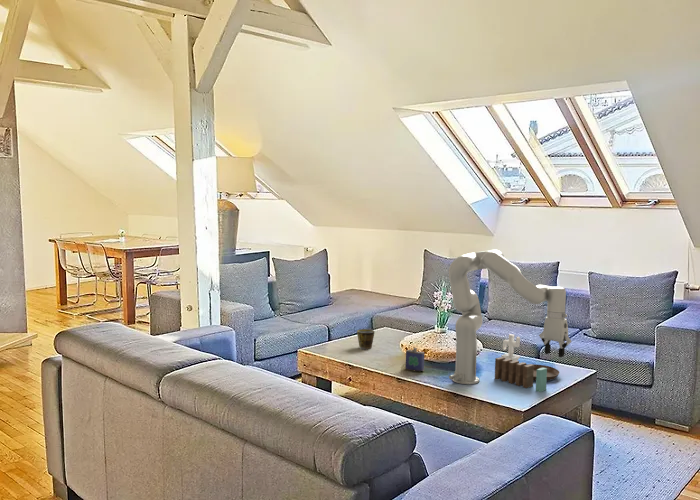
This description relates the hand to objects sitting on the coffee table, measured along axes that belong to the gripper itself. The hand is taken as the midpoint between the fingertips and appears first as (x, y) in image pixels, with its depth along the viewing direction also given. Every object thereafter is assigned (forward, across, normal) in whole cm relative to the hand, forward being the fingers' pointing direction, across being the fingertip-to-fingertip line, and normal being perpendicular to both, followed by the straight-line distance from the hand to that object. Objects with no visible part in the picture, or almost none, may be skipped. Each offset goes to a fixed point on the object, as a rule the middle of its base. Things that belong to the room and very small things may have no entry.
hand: (554, 354), depth 279 cm
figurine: (+18, +44, -28) cm, 55 cm away
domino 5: (+18, +13, 0) cm, 22 cm away
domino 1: (+18, +29, 0) cm, 34 cm away
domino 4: (+18, +17, 0) cm, 25 cm away
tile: (+18, +6, 0) cm, 19 cm away
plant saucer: (+18, +20, -18) cm, 33 cm away
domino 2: (+18, +25, 0) cm, 31 cm away
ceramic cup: (+18, +112, +15) cm, 114 cm away
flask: (+18, +64, +23) cm, 70 cm away
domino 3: (+18, +21, 0) cm, 27 cm away
